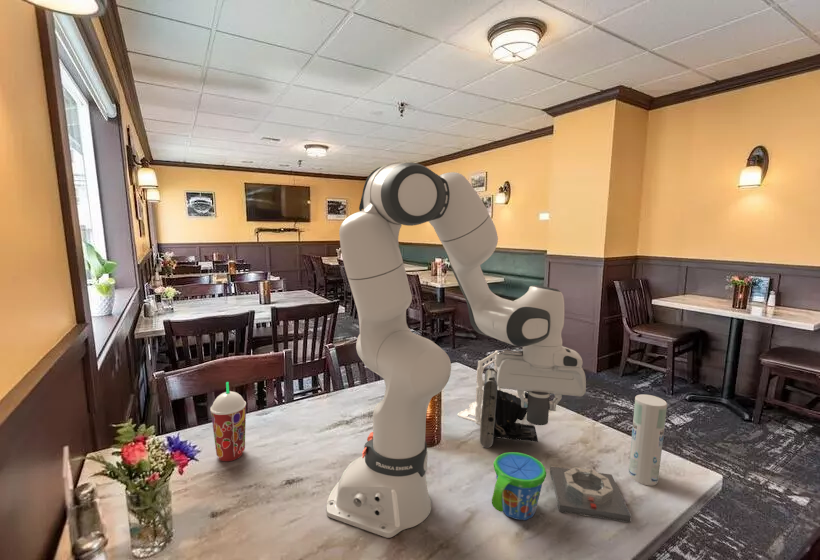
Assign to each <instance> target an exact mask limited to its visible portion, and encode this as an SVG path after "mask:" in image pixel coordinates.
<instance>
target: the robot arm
mask: <svg viewBox="0 0 820 560" xmlns="http://www.w3.org/2000/svg"><path fill="white" fill-rule="evenodd" d="M364 182H365V183H364V185H363V189H362V194H361V199H360V201H359V202H360V203H359V206H358V210H359V211H357V212H354V213H352V214H350V215H348V217H346V218H345V219H344V220H343V221H342V222H341V224H340V226H339V230H338V231H339V236H338V237H339V244H340V245H339V246H340V252H341V257H342V262H343V266H344V270H345V274H346V277H347V280H348V283H349V287H350V291H351V293H352V297H353V301H354V303H355V304H354V305H355V307H356V311H357V316H358V324H359V325H358V327H359V328H358V329H359V334H358V336H357V339H356V343H355V345H356V346H355V348H356V353H357V355H358V357H359V358H360V360H361V361H362V363H364V365H365V366H366V367H367V369H368V370H370V371H371V372H373V373H375V374H377V375H378V376H379V377H380V378H382V379H383V381H384V383H385V390H384V395H383V399H381V400H380V401H379V402H378V403H377V404H376V405H375V406H374V409H373V412H372V413H373V414H372V431H371V432H369V435H368V437H367V439H366V440H367V441H366V442H365V445H364V446H363V447H364V448H363V450H362V453H361V454H362V455H360V456H359V457H357V458H356V459H354V460H353V461H351V462H350V463H349V464H348V465H347V466H346V468H345V470H344V471H343V473H342V474H341V477H340V480H338V482H337V483H336V484H335V485H334V487H333V488H332V490H331V492H330V494H329V496H328V497H327V501H326V507H325V512H326V516H327V517H329V518H331V519H333V520H336V521H338V522H341V523H344V524H347V525H350V526H353V527H355V528H358V529H361V530H363V531H366V532H370V533H373V534H375V535H378V536H382V537H383V538H387V539H389V538H393V537H394V536H396V535H397V534H399V533H400V532H401V531H404V530H406V529H410V528H413V527H416V526H418V525H419V524H422V522H424V521H425V520H426V519H427V517H429V515H430V513H431V510H432V500H431V497H430V494H429V490H428V484H427V475H426V472H427V470H428V469H427V468H428V447H427V446H428V444H427V441H426V421H427V412H428V407H429V404H430V402H431V400H432V398H433V397H435V396H437V395H438V394H440V393H441V392H442V390H444V388H445V387H446V386H447V384H448V382H449V380H450V377H451V371H452V362H451V359H450V357H449V355H448V353H446V351H445V350H444V349H443V348H441V347H440V346H439V345H438V344H436V343H435V341H433V340H431V339H429V338H427V337H424V336H422V335H419V334H417V333H414V332H412V331H411V330H410V328H409V325H408V323H407V309H409V307H410V306H411V304H412V300H413V295H412V290H411V288H410V287H411V286H410V282H409V279H408V275H407V272H406V269H405V268H406V267H405V264H404V260H403V256H402V252H401V249H400V247H399V245H400V243H399V235H400V231H401V228H402V226H408V227H411V226H417V225H422V224H424V223H427V222H428V223H429V224H430V226H432V228H433V230H434V232H435V234H436V236H437V237H438V240H439V241H440V243H441V245H442V246H443V248H444V251H445V253H446V254H447V256H448V262H449V266H450V267H451V271H452V273H453V275H454V278H455V281H456V282H457V284H458V287H459V288H460V290H461V293H462V295H463V297H464V300H465V302H466V304H467V309H468V319H469V322H470V325H471V327H472V328H473V330H474V331H475V332H476V333H478V334H481V335H483V336H487V337H489V338H490V337H491V338H494V339H496V340H498V341H500V342H504V343H505V344H508V345H512V346H514V347H521V348H522V351H519V350H508V349H506V350H505V349H504V350H503V351H500V352H498V355H497V359H496V364H497V367H498V369H497V385H498V386H499V388H500V389H501V390H502V389H503V390H505V389H506V390H512V391H513V390H514V391H516V393H517V395H518V396H517V397H518V398H520V399H521V407H522V408H528V399H526V398H525V396H524V395H525V392H528V391H535V392H545V393H550V395H551V394H552V395H554V397H553V400H549V412H550V411H552V412H556V410H557V409H556V408H557V405H558V403H559V402H560V401H561V400H562V398H563V397H562V396H573V397H583V396H584V395H585V394H586V392H587V391H586V390H587V388H586V387H587V386H586V385H587V383H586V382H587V380H586V373H585V371H584V368H583V367H582V366H583V363H584V362H583V359H582V356H581V355H580V353H578V351H576V350H575V349H572V348H569V347H566V346H563V338H562V331H563V329H564V325H565V299H564V295H563V293H562V291H561V290H559V289H558V288H552V287H550V286H549V287H548V286H543V285H539V284H538V285H537V284H534V285H533V284H532V285H530V286H529V288H528V290H527V292H525V293H524V294H523V295H522V296H520V297H518V298H516V299H515V300H510V299H506V298H503V297H500V296H499V295H496V294H495V293H494V292H493V291H492V290H491V289H490V288H489V284H488V281H487V280H486V277H485V275H484V273H483V270H482V267H481V265H483V263H485V262H487V260H488V259H489V258H490V257H492V255H493V254H494V252H495V250H496V248H497V245H498V240H499V236H498V232H497V228H496V226H495V223H494V220H493V219H492V217H491V215H490V213H489V211H488V209H487V207H486V205H485V204H484V202H483V200H482V198H481V197H480V196H479V193H478V192H477V191H476V189H475V188H474V187H473V185H472V184H471V182H470V181H469V180H468V179H467V178H466V177H465V176H464V175H463V174H462V173H459V172H454V171H451V172H446V173H445V172H444V173H443V174H440V175H439V174H438V173H435V172H434V171H432V169H431V168H428V167H426V166H425V165H423V164H420V163H416V162H392V163H388V164H386V165H382V166H379V167H377V168H376V169H374V170H373V171H372V172H371V173H370V174H369V175H368V177H367V178H366V179H365V181H364ZM499 388H498V389H499Z"/></svg>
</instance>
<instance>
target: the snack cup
mask: <svg viewBox="0 0 820 560" xmlns="http://www.w3.org/2000/svg"><path fill="white" fill-rule="evenodd" d="M493 468H494V469H493V470H494V473H495V474H496V482H495V484H494V489H493V495H492V498H491V505H492V507H493V508H494V509H495V510H496V511H498V512H500V513H502V512H503V513H504V515H506V516H507V517H510V518H512V519H515V520H520V521H521V520H523V521H527V520H529V519H531V518H533V516H534V515H535V513H536V511H537V507H538V503H539V500H540V496H541V492H542V486H543V483H544V482H545V479H547V471H546V467H545V466H544V465H543V463H542V462H541V460H539V459H537V458H535V457H534V456H532V455H529V454H526V453H523V452H517V451H516V452H515V451H514V452H513V451H511V452H503V453H502V454H499V455H497V456H496V458H495V460H494V461H493Z"/></svg>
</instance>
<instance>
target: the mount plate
mask: <svg viewBox="0 0 820 560" xmlns="http://www.w3.org/2000/svg"><path fill="white" fill-rule="evenodd" d="M549 470H550V473H549V474H550V477H551V481H552V486H553V492H554V495H555V499H556V503H557V508H558V511H559V512H562V513H568V514H574V515H580V516H586V517H587V516H588V517H594V518H599V519H607V520H612V521H619V522H620V521H621V522H624V523H625V522H626V523H631V519H632V515H631V512H630V510H629V509H628V506H627V504H626V502H625V500H624V497H623V496H622V494H621V491H620V489H619V487H618V485H617V483H616V481H615V478H614V477H613V475H612V474H611V473H610V474H609V473H603V472H602V473H601V472H597V471H596V470H594V469H592V468H583V467H575V466H574V467H572V468H565V467H557V466H550V469H549Z"/></svg>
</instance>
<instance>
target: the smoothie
mask: <svg viewBox="0 0 820 560" xmlns="http://www.w3.org/2000/svg"><path fill="white" fill-rule="evenodd" d="M229 383H230V382H229V381H226V382H225V388H226V389H225V391H224V392H222V393H220V394H219V395H218V396H217V397H216V398H215V399H214V401H213V403H212V405H211V406H210V408H209V409H210V415H211V423H212V430H213V438H214V444H215V445H214V446H215V451H216V452H215V453H216V456H217V457H218V458H219V460H220V461H223V462H231V461H235V460H237V459H239V458H240V457H242V456H243V453H244V451H245V449H246V423H247V422H246V419H247V417H246V415H247V401H245V400H244V398H243V396H242V395H241V394H239V393H238V392H236V391H231V390H230V385H229Z"/></svg>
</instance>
